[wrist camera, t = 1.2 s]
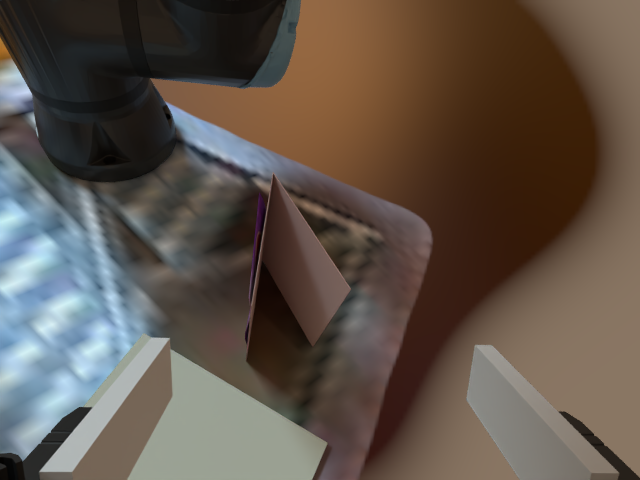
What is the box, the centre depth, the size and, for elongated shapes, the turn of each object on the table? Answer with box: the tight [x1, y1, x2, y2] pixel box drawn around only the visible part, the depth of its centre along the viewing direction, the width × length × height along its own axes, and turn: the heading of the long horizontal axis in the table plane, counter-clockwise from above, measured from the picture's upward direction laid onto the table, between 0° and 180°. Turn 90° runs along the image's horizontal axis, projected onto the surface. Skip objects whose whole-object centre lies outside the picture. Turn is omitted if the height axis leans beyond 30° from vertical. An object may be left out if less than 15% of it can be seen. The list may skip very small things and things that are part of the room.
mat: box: [83, 334, 327, 480], centre depth 30 cm, size 20×16×1 cm
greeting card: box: [245, 172, 351, 360], centre depth 33 cm, size 11×7×15 cm, turn 177°
